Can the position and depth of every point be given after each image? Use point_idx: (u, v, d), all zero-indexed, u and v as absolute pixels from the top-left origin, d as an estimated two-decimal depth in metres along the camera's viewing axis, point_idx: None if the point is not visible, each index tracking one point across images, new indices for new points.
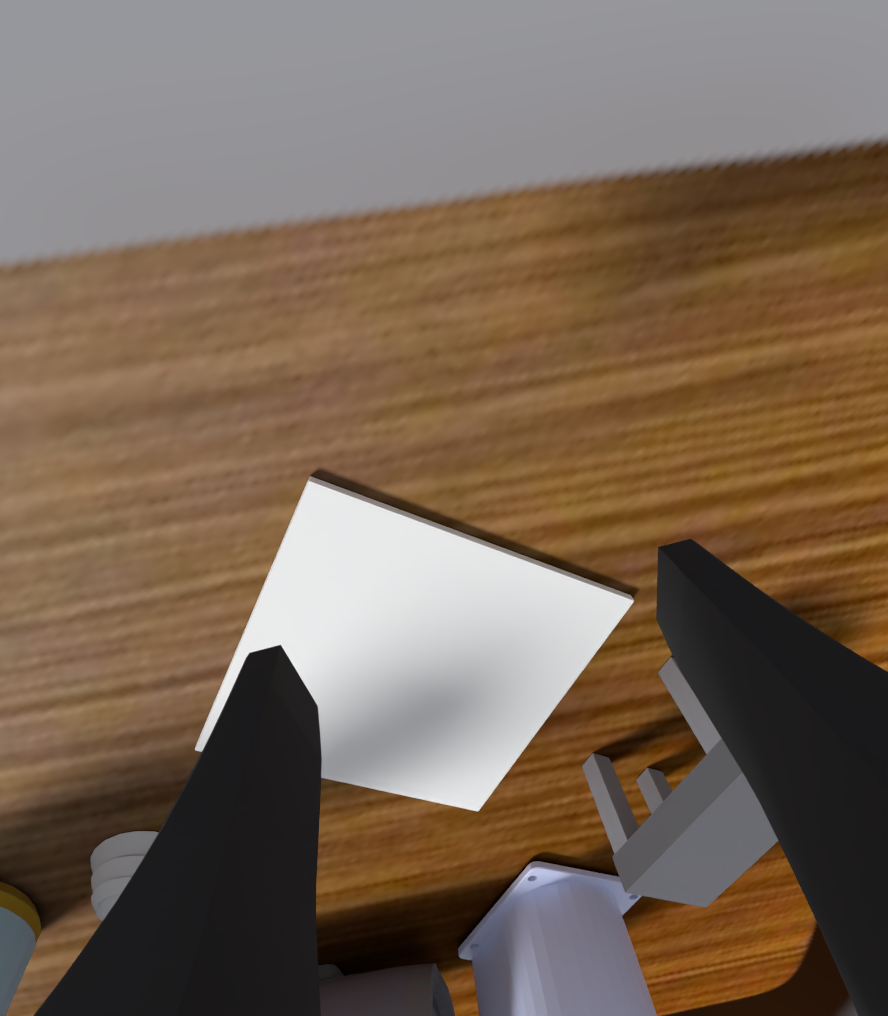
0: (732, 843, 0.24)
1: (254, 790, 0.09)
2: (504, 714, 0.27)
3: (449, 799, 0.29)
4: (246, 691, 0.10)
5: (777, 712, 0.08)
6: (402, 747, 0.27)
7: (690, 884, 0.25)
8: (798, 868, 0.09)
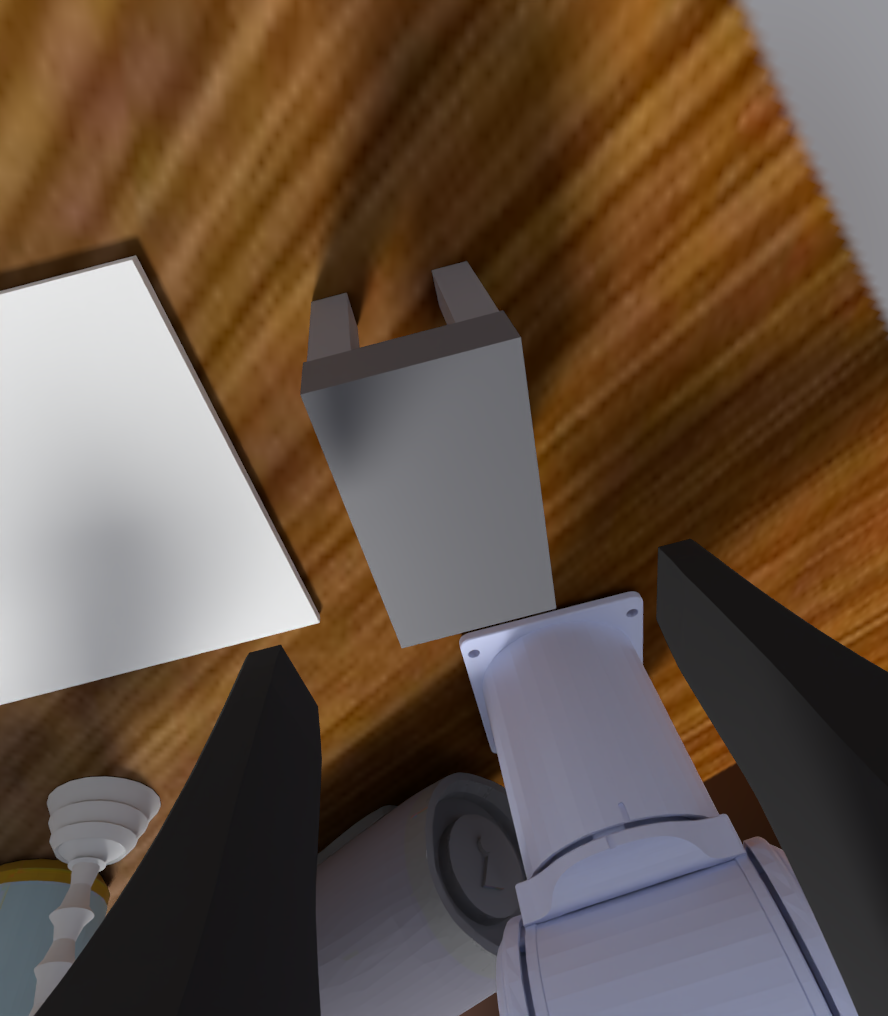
0: (464, 513, 0.14)
1: (254, 790, 0.09)
2: (194, 511, 0.19)
3: (271, 627, 0.23)
4: (246, 691, 0.10)
5: (777, 712, 0.08)
6: (144, 607, 0.22)
7: (483, 595, 0.16)
8: (797, 867, 0.09)
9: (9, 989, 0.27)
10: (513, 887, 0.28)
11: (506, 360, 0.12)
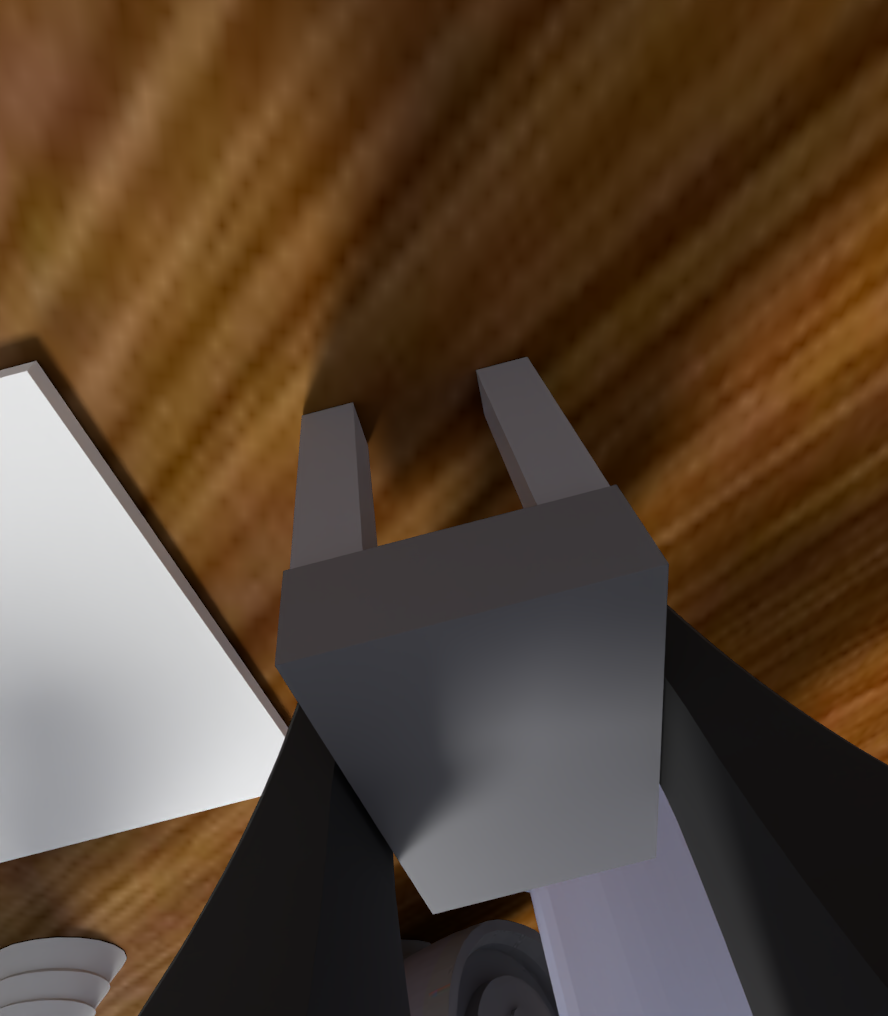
0: (538, 779, 0.09)
1: None
2: (146, 675, 0.14)
3: (254, 790, 0.18)
4: None
5: (681, 736, 0.08)
6: (87, 779, 0.17)
7: (555, 855, 0.11)
8: (708, 891, 0.09)
9: None
10: None
11: (637, 596, 0.07)
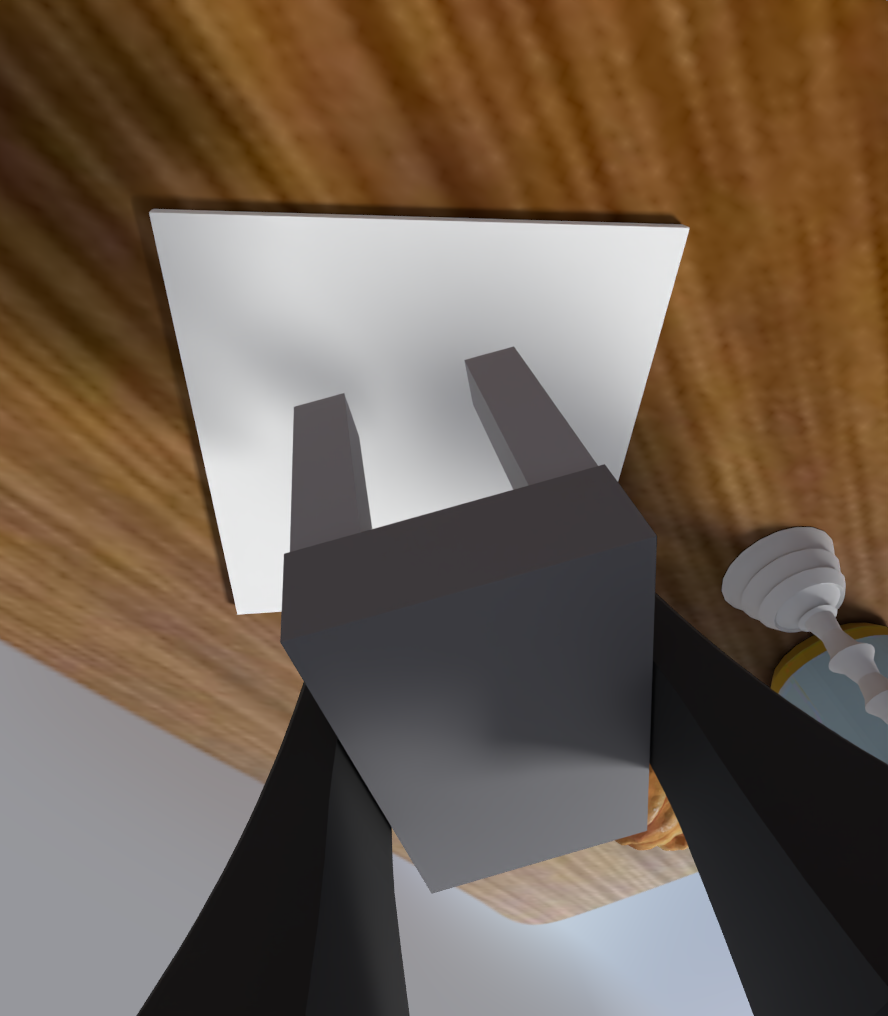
0: (534, 752, 0.09)
1: (343, 767, 0.09)
2: (454, 299, 0.17)
3: (658, 294, 0.17)
4: None
5: (682, 736, 0.08)
6: None
7: (550, 830, 0.11)
8: (709, 889, 0.09)
9: (885, 739, 0.25)
10: None
11: (628, 568, 0.07)
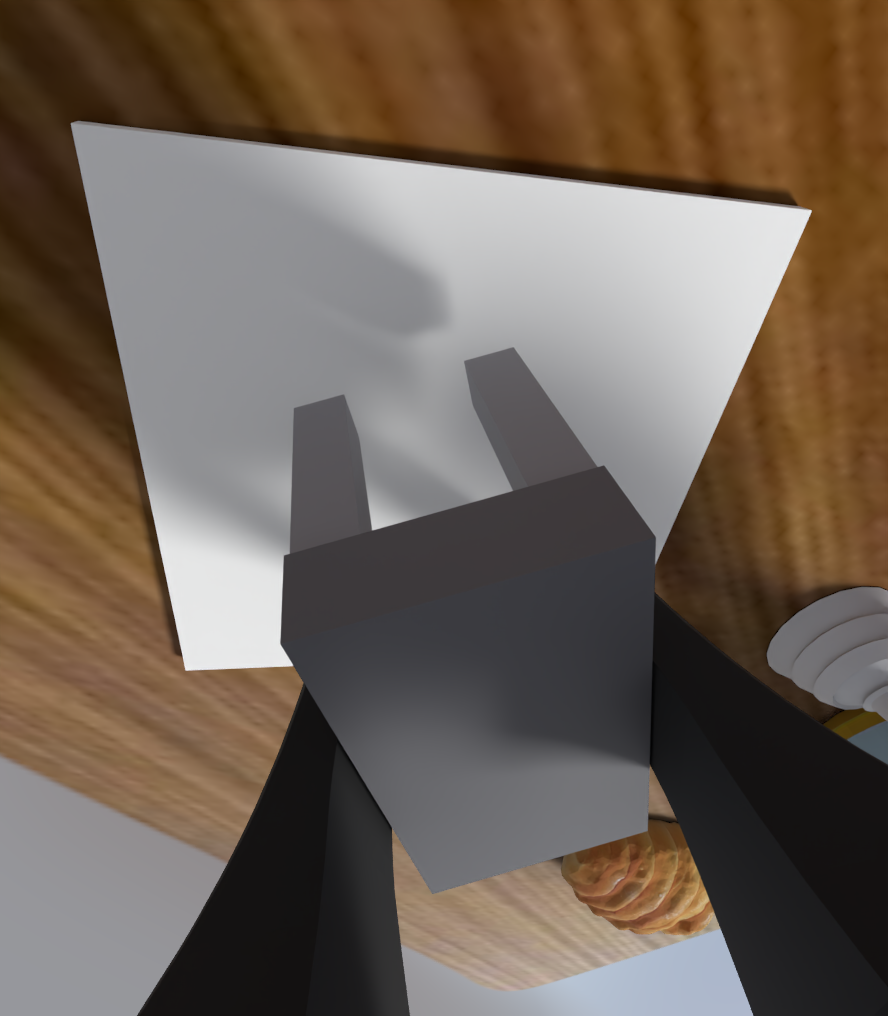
0: (535, 754, 0.09)
1: (344, 767, 0.09)
2: (496, 284, 0.12)
3: (758, 296, 0.13)
4: None
5: (682, 736, 0.08)
6: (603, 436, 0.15)
7: (550, 831, 0.11)
8: (709, 890, 0.09)
9: None
10: None
11: (627, 570, 0.07)
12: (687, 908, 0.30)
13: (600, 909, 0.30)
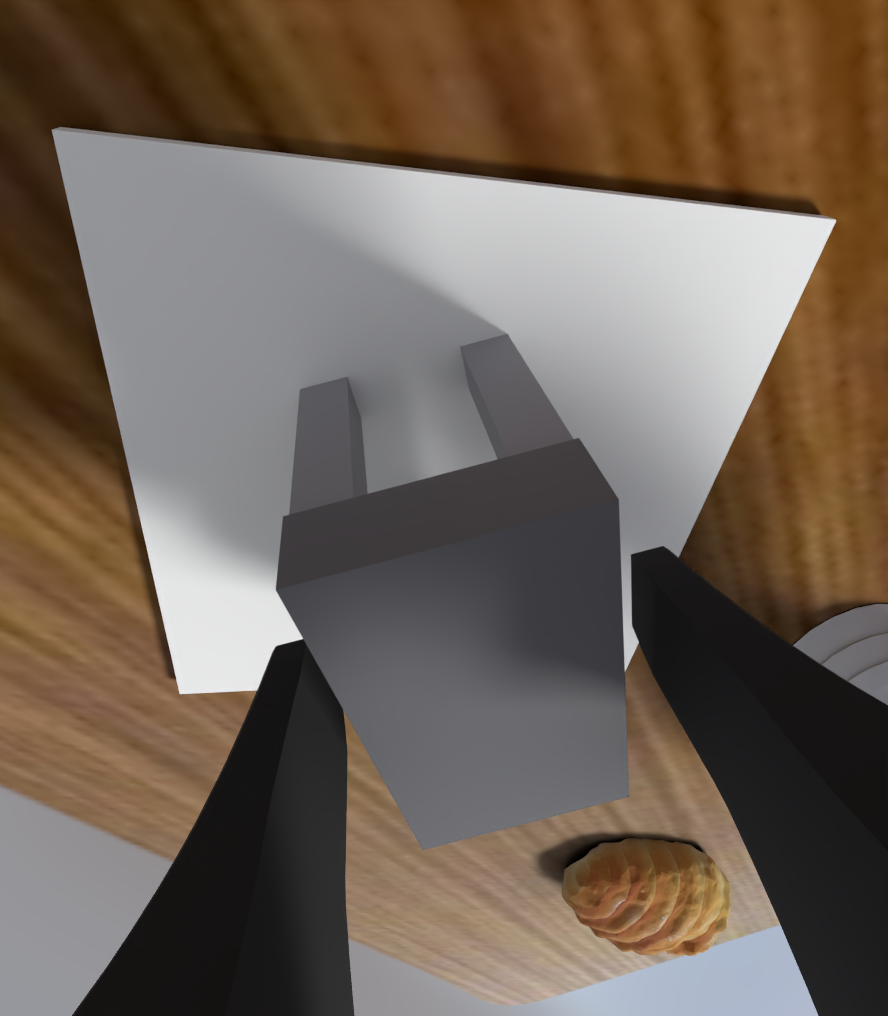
0: (515, 710, 0.10)
1: (288, 781, 0.09)
2: (504, 298, 0.12)
3: (777, 309, 0.13)
4: (276, 683, 0.10)
5: (741, 721, 0.08)
6: (614, 454, 0.14)
7: (533, 791, 0.12)
8: (764, 876, 0.09)
9: None
10: None
11: (593, 530, 0.08)
12: (691, 930, 0.29)
13: (602, 931, 0.30)
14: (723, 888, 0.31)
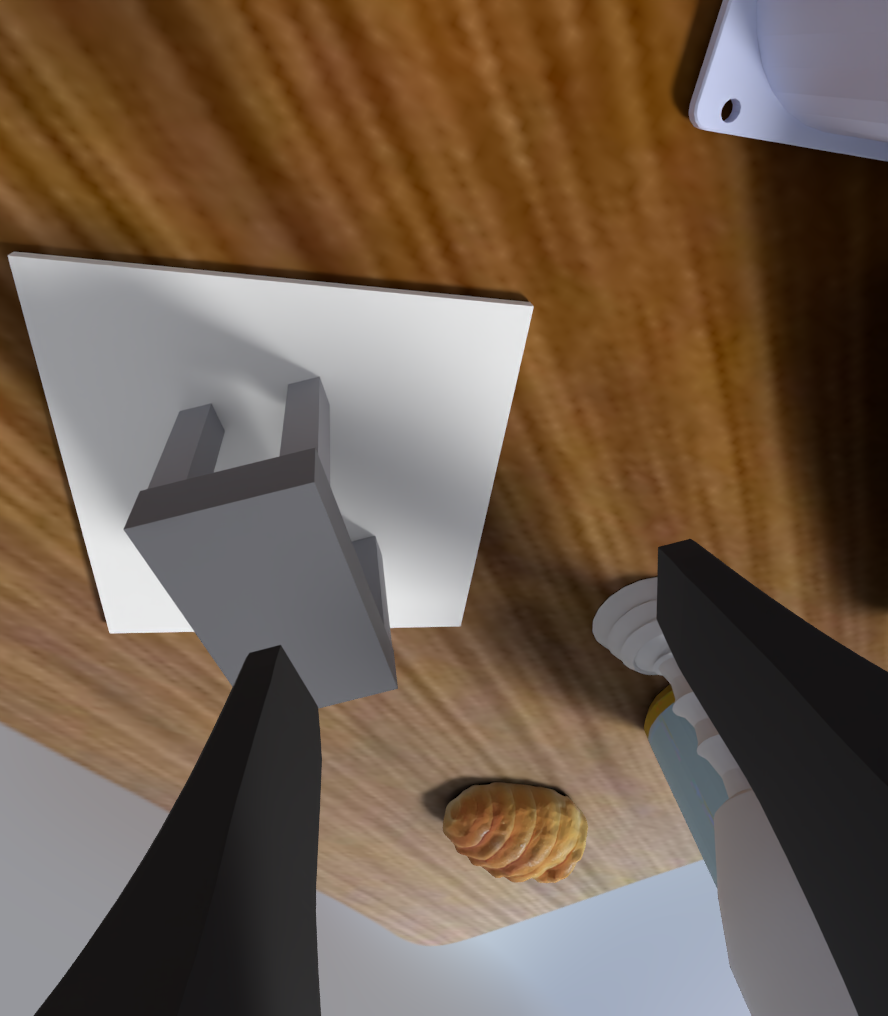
0: (293, 616, 0.16)
1: (254, 790, 0.09)
2: (313, 354, 0.18)
3: (508, 362, 0.19)
4: (246, 691, 0.10)
5: (777, 712, 0.08)
6: (414, 458, 0.21)
7: (325, 679, 0.18)
8: (797, 867, 0.09)
9: None
10: None
11: (305, 499, 0.14)
12: (547, 857, 0.35)
13: (476, 859, 0.36)
14: (580, 825, 0.37)
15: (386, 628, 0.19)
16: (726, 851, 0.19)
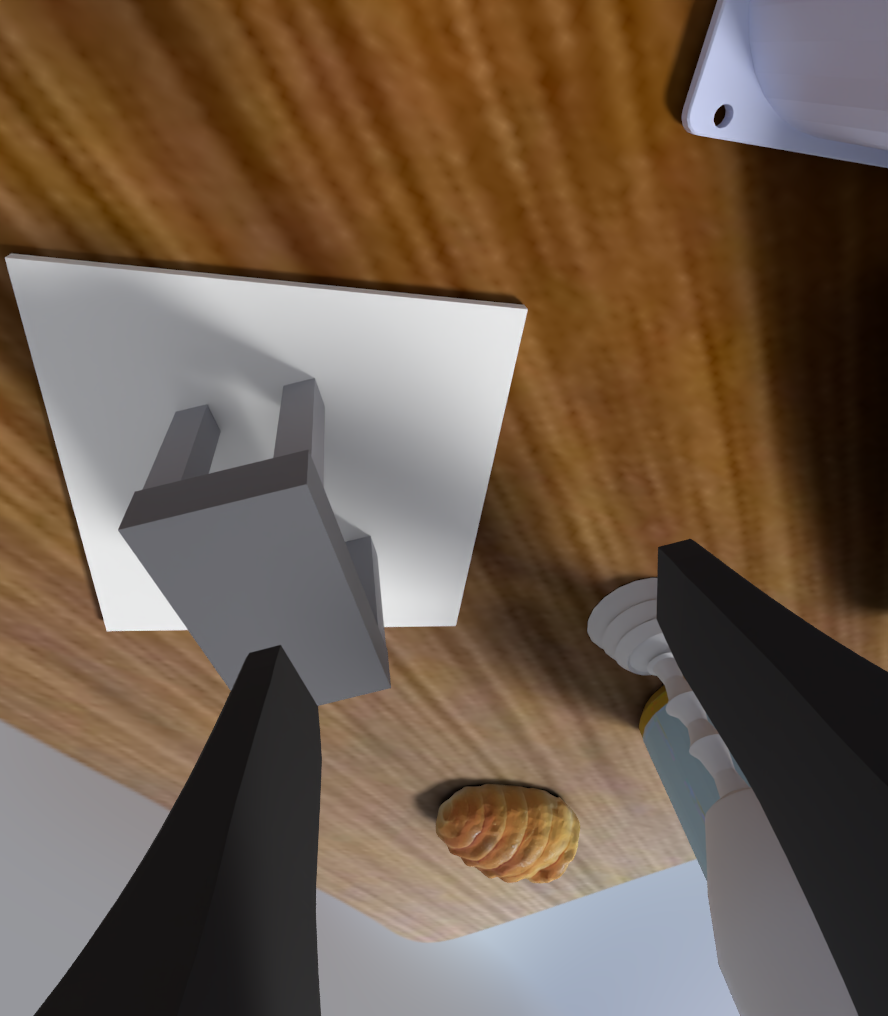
0: (286, 615, 0.16)
1: (254, 790, 0.09)
2: (308, 355, 0.18)
3: (503, 364, 0.19)
4: (246, 691, 0.10)
5: (777, 712, 0.08)
6: (408, 459, 0.21)
7: (319, 678, 0.18)
8: (797, 868, 0.09)
9: None
10: None
11: (298, 501, 0.14)
12: (539, 857, 0.36)
13: (468, 860, 0.36)
14: (572, 826, 0.37)
15: (380, 628, 0.19)
16: (716, 851, 0.19)
